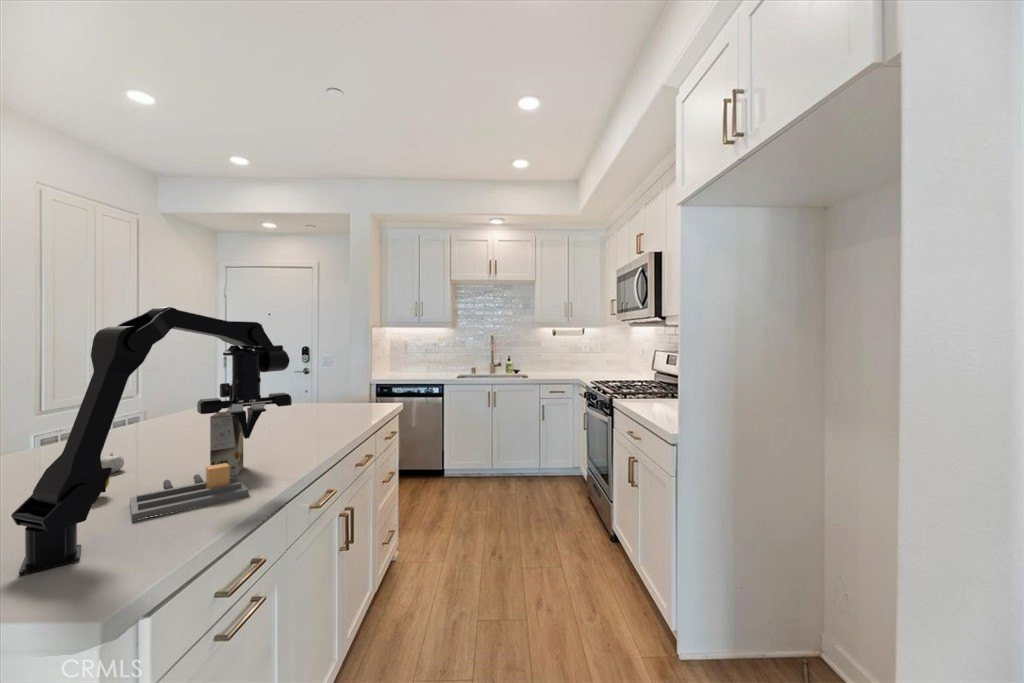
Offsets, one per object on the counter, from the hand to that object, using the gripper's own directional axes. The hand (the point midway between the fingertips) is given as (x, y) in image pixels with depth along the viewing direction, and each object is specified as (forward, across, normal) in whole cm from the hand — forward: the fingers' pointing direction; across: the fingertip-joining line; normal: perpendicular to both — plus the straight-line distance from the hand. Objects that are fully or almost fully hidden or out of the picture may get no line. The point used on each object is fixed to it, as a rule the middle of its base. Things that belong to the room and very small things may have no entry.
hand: (246, 438), depth 102 cm
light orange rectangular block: (+11, +6, 0) cm, 12 cm away
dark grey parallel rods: (+12, +11, -11) cm, 20 cm away
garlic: (+12, +24, -40) cm, 48 cm away
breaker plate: (+12, +11, 0) cm, 16 cm away
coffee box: (+12, +1, -18) cm, 22 cm away
